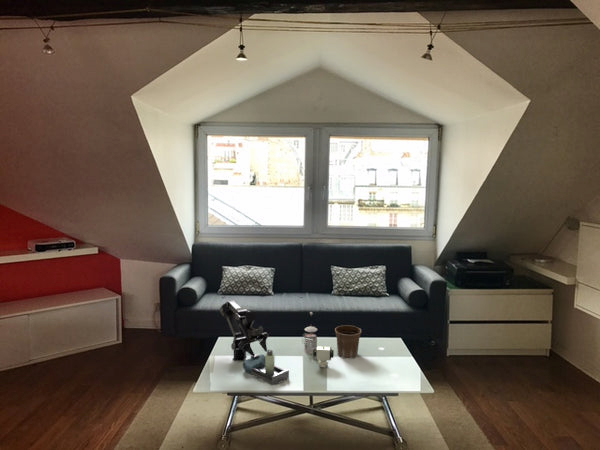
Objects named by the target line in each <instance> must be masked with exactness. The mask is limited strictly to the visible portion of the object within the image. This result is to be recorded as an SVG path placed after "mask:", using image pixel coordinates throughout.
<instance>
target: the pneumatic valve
mask: <svg viewBox="0 0 600 450" xmlns="http://www.w3.org/2000/svg"><path fill="white" fill-rule="evenodd" d="M334 352H335V351H334V349H332V346H324V345H322V346H318V345H317V346H316V349H313V353H312V357H313V358H314V359H315V360H316V361H318V366H319V367H320V368H327V367H328V365H329V361H331V360H332V359H334V356H335V355H334Z"/></svg>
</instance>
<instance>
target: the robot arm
mask: <svg viewBox="0 0 600 450" xmlns="http://www.w3.org/2000/svg"><path fill="white" fill-rule="evenodd" d="M219 313H220V314H221V315H222V317H223V318H224V319H226V321H227V323H228V326H229V328H230V331H231V333H232V336H233V340H232V343H231V346H230V347H231V350H232V351H233V358H232V361H240V362H244V361H245V360H246V358H247V353H248V354H249V355H250V356H251V355H252V356H253V357H254V356H255V355H254V354H255V353H254V351H253V349H252V346H251V344H252V343H255V342H258V344H259V345H260V346H261V348H262V349H263V351H264V352H266V353H267V351H268V349H267V340H268V337H269V333H268V332H265V331H264V327H263V326H262V325H261V326H258V327H257V328H255V327H252V326H253V324H254V322H255V321H256V316H255V314H254V313H251V311H249V310H248V309H246V308H243V307H241V306H240V305H239V304H237V303H236V301H235V300H233V299H231V300H227V301H226V302H225V303H223V304H222V305H221V306H220V309H219ZM238 321H240V322H239V323H238ZM240 328H241V329H240ZM241 331H242V332H241Z"/></svg>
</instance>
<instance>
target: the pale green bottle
mask: <svg viewBox="0 0 600 450" xmlns="http://www.w3.org/2000/svg"><path fill="white" fill-rule="evenodd" d="M274 365H275V353H274V351H273V350H272V349H267V352H266V353H265V373H266V374H268V375H272V374H274Z"/></svg>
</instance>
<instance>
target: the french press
mask: <svg viewBox="0 0 600 450" xmlns="http://www.w3.org/2000/svg"><path fill="white" fill-rule="evenodd" d="M309 315H314V313H313V312H312V311H310V312H309ZM304 331H305V332H304V333H303V335H301V336H302V337H301V338H304V340H301V342H302V344H304V348H303V349H302V352H304V353H306V354H309V355H310V354H312V355H313V349H316V346H318V337H317V335H316V334H315V332H317V331H318V328H316V326H312V325H310V326H307V327H305V328H304ZM306 332H307V333H306Z"/></svg>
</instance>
